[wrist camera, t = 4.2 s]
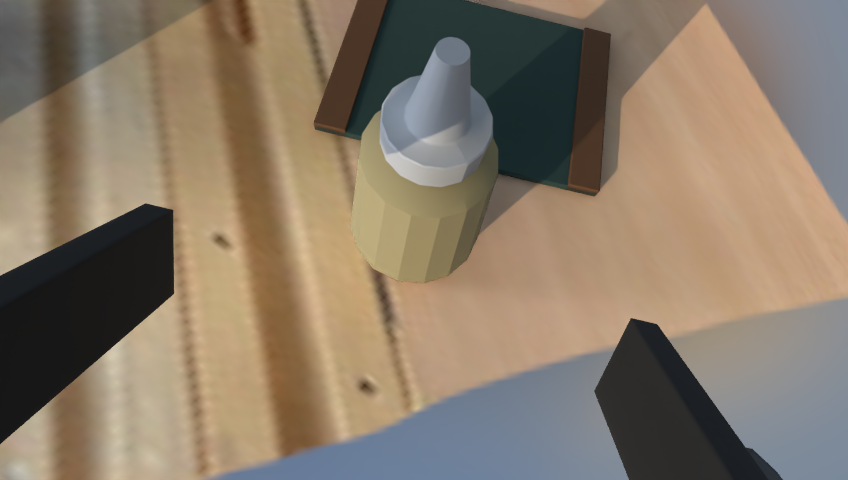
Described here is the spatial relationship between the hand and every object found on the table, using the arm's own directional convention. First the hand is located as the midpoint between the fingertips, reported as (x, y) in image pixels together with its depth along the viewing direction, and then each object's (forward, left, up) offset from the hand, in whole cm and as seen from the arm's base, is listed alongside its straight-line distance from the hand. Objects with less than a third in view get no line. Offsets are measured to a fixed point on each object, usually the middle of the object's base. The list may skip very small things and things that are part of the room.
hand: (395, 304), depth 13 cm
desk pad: (+2, +23, -17) cm, 29 cm away
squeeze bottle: (0, +8, -17) cm, 19 cm away
